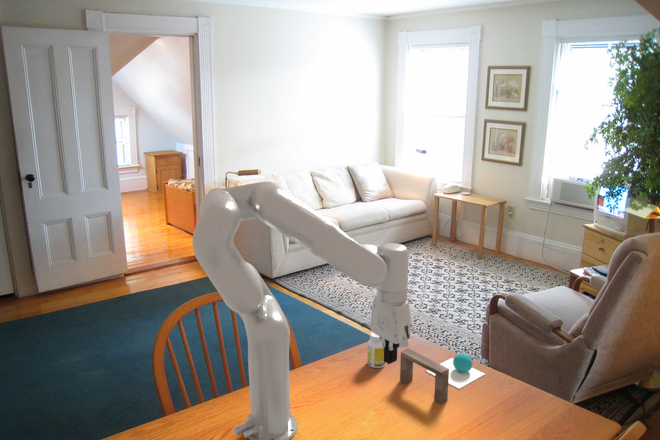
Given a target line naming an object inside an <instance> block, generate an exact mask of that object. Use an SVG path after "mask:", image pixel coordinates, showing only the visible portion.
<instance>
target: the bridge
mask: <svg viewBox="0 0 660 440" xmlns="http://www.w3.org/2000/svg"><path fill="white" fill-rule="evenodd" d="M414 364H416V365H418V366H419V367H422V368H423V369H426V371H427V370H429V371H431V372H433V373H435V376H434V396H433V397H434V398H433V401H434V402H436V404H439V405H442V404H443V403H445V402H446V401H448V394H449V384H448V379H449V369H448V368H446V367H444V366H442V365H440V364H441V363H438V362H437V361H434V360H432V359H430V358H428V357H427V356H425V355H422V354H420V353H418V352H416V351H415V350H413V349H410V348H406V349H403V350H402V351H400V364H399V365H400V369H399V371H400V372H399V373H400V374H399V381H400V382H401V383H403V384H404V385H406V384H408V383H410V382H412V381H413V374H414Z"/></svg>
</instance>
